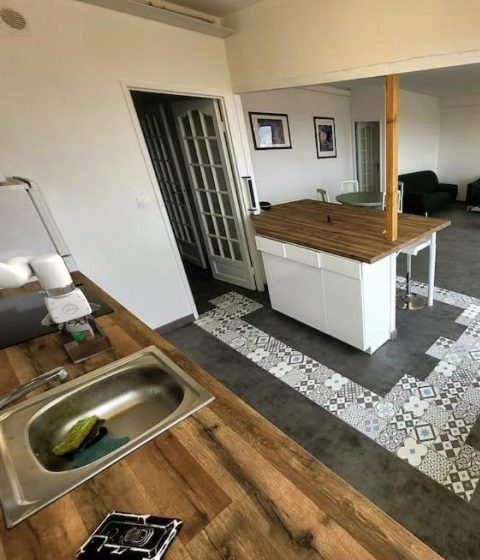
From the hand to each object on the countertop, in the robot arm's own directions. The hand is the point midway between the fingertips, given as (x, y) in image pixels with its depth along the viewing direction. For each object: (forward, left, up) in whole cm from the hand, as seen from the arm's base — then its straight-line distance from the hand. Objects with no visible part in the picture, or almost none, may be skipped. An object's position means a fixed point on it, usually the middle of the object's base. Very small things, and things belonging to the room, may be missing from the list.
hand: (80, 331), depth 115 cm
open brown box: (0, 0, -7) cm, 7 cm away
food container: (0, 0, -5) cm, 5 cm away
